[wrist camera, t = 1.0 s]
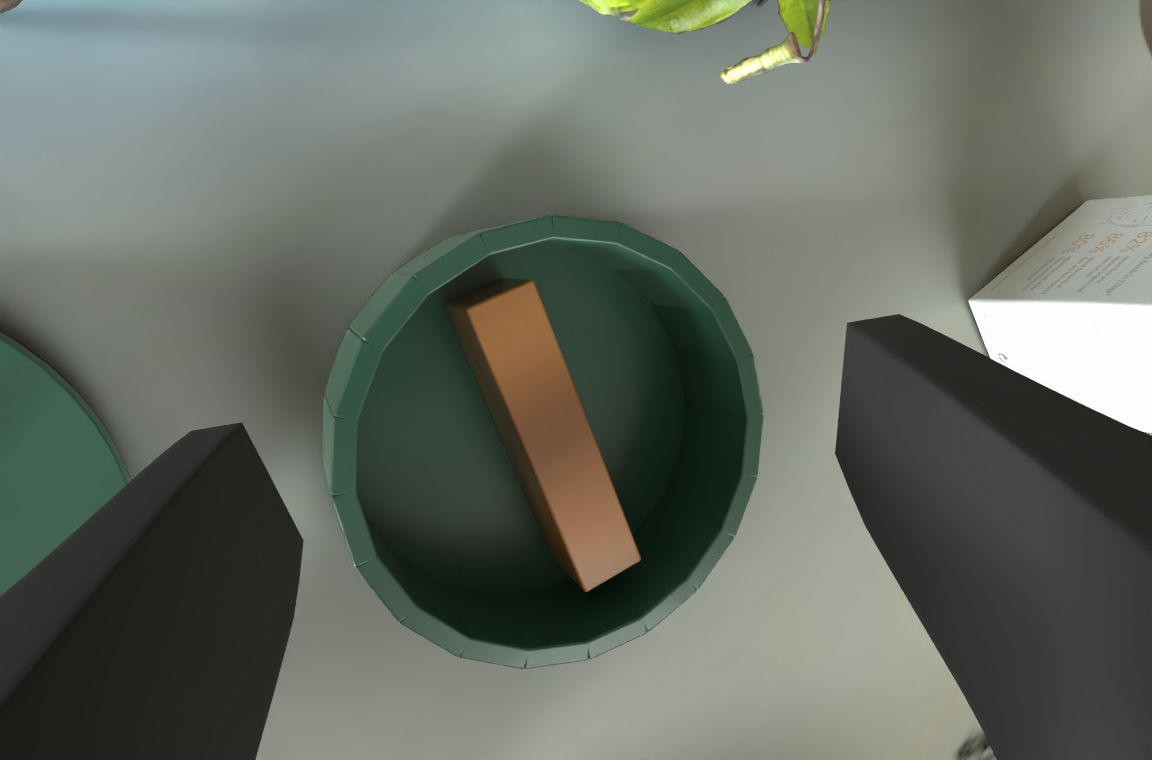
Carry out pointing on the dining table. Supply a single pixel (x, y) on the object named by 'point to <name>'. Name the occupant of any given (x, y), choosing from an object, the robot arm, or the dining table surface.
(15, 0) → the brown hollow shell
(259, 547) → the robot arm
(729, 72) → the passion flower
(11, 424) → the tin lid
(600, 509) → the stick
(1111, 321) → the small box
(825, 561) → the dining table surface
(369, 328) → the tin
